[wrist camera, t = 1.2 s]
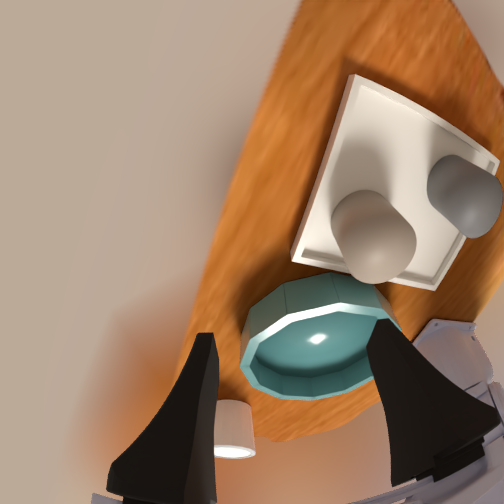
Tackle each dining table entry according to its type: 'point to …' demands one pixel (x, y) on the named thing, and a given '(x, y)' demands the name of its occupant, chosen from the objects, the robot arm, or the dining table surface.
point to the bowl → (312, 337)
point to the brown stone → (372, 237)
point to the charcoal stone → (465, 195)
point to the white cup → (233, 430)
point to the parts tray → (386, 177)
